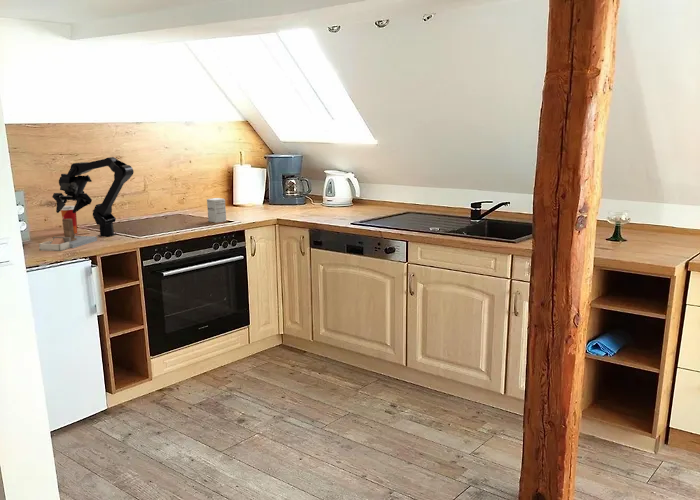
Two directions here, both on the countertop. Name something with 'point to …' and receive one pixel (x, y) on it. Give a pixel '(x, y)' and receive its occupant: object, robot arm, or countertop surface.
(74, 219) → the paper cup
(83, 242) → the board
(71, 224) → the scraper
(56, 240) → the tile
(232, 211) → the countertop surface
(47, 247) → the tray
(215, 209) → the supplement box
